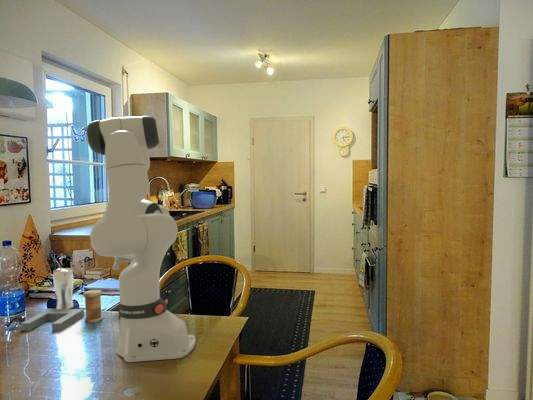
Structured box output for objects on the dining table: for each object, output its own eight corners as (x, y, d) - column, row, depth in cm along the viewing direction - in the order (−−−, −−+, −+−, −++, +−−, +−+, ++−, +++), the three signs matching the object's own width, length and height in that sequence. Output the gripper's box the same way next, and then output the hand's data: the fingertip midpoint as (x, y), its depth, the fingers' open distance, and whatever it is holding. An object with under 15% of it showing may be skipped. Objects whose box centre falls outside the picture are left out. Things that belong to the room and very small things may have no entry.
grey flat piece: (84, 315, 143) (83, 309, 143) (60, 330, 130) (60, 323, 129) (48, 315, 145) (47, 309, 145) (21, 330, 131) (20, 323, 131)
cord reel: (105, 316, 142) (104, 289, 141) (97, 322, 136) (96, 294, 135) (90, 316, 142) (89, 289, 141) (81, 322, 136) (80, 294, 136)
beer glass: (62, 304, 157) (60, 267, 157) (78, 304, 157) (76, 267, 156) (51, 310, 151) (48, 272, 150) (67, 310, 150) (65, 272, 149)
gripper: (120, 234, 159) (100, 263, 152) (153, 237, 148) (132, 268, 140) (130, 243, 163) (111, 271, 156) (163, 247, 151) (143, 278, 144)
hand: (121, 270), depth 148 cm, fingers open, 8 cm apart
